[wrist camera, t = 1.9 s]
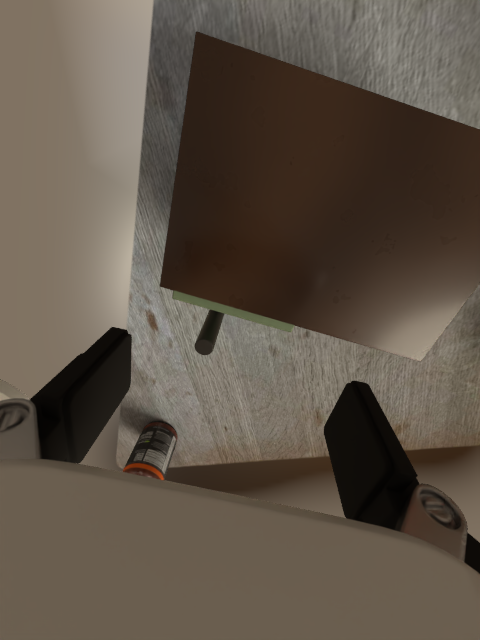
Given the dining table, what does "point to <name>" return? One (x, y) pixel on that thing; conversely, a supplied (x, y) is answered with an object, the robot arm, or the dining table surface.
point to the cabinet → (322, 203)
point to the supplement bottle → (152, 451)
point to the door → (215, 317)
